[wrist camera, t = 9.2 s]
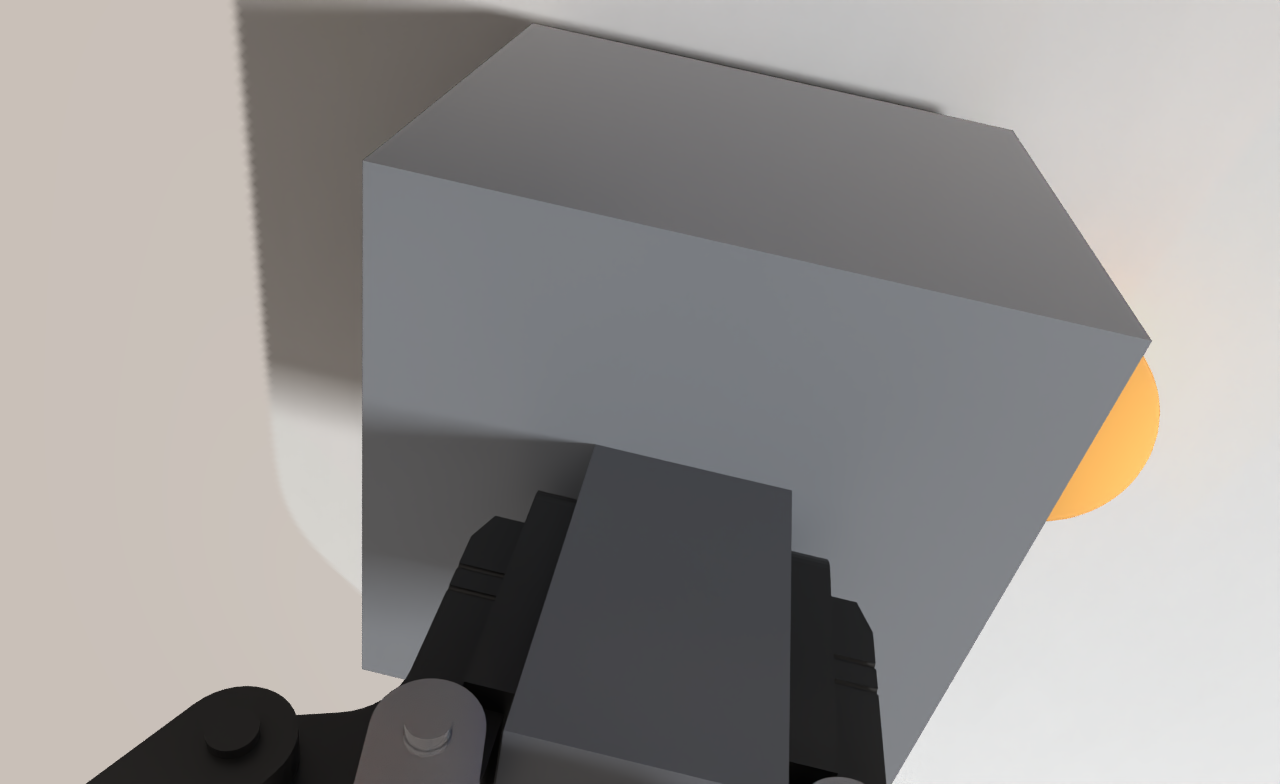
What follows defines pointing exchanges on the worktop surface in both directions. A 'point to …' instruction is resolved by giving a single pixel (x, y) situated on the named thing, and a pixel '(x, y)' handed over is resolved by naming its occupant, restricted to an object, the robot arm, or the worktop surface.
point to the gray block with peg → (714, 389)
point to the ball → (1115, 448)
